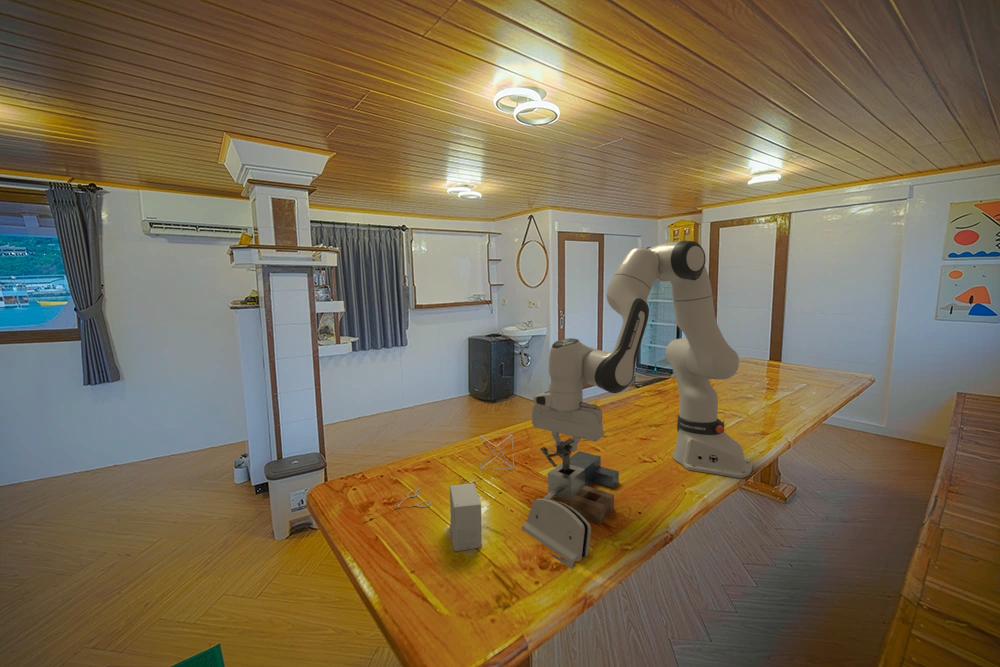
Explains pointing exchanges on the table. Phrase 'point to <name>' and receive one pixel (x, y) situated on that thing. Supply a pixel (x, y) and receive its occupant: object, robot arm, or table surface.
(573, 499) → the brown square ring block
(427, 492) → the table surface
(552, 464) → the forked twig branch
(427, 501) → the scissors
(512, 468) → the geometric polyhedron
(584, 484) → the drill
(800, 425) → the table surface
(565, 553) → the grey curved-top slotted block
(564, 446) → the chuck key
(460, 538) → the skincare box
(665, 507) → the table surface
